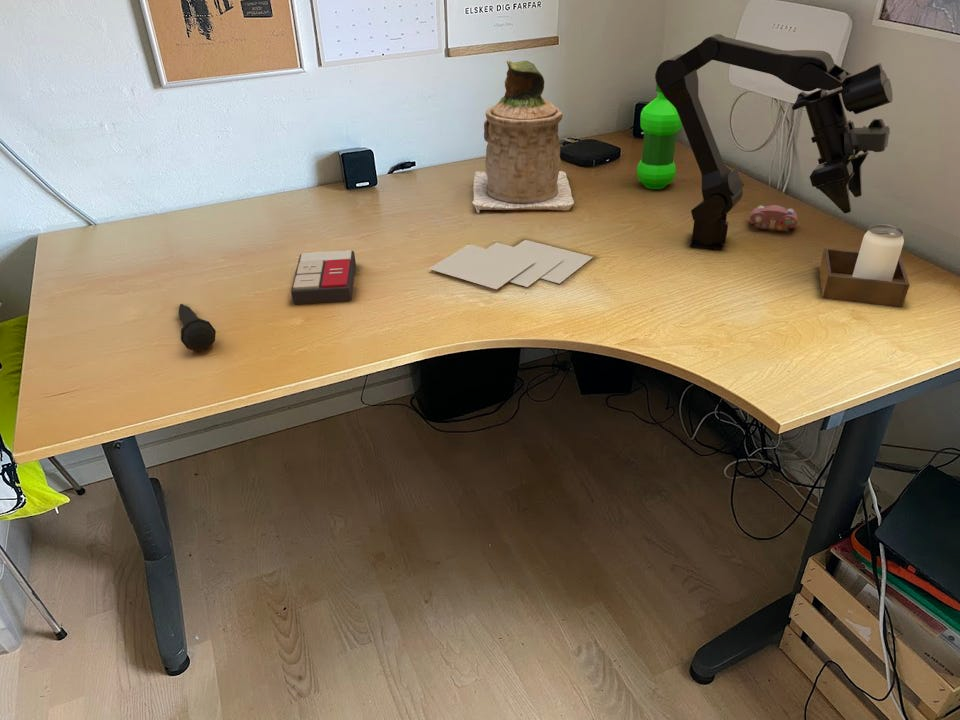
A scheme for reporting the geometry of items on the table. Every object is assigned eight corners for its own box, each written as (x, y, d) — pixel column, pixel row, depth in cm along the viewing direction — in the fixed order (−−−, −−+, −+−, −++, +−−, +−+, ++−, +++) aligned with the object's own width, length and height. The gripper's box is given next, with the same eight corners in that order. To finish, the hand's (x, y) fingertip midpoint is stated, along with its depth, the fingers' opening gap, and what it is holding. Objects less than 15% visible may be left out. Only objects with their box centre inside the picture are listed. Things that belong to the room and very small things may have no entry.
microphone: (177, 325, 137) (196, 362, 121) (159, 301, 134) (176, 336, 118) (202, 309, 138) (225, 344, 123) (185, 285, 135) (206, 318, 119)
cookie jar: (575, 211, 170) (582, 68, 152) (471, 214, 170) (466, 72, 153) (566, 176, 190) (571, 46, 173) (473, 178, 191) (469, 49, 173)
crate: (822, 297, 132) (828, 275, 130) (819, 268, 142) (824, 248, 139) (902, 307, 128) (909, 284, 126) (893, 277, 138) (900, 255, 135)
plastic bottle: (625, 186, 183) (634, 83, 169) (650, 175, 189) (660, 75, 175) (658, 196, 177) (670, 90, 163) (683, 184, 182) (696, 81, 169)
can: (891, 300, 131) (911, 238, 124) (853, 297, 132) (870, 236, 125) (882, 283, 136) (901, 224, 129) (845, 281, 137) (862, 222, 130)
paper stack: (493, 231, 161) (493, 228, 161) (593, 257, 149) (593, 254, 148) (428, 271, 146) (428, 268, 145) (533, 303, 133) (533, 300, 133)
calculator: (289, 288, 134) (299, 250, 146) (293, 307, 136) (303, 268, 149) (348, 284, 134) (353, 246, 146) (351, 303, 137) (356, 265, 149)
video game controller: (746, 233, 160) (750, 212, 154) (749, 218, 162) (753, 196, 156) (793, 239, 157) (799, 217, 151) (796, 223, 159) (802, 201, 153)
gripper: (867, 120, 117) (892, 208, 121) (888, 94, 130) (910, 175, 134) (797, 143, 125) (823, 226, 129) (823, 117, 138) (846, 193, 142)
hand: (853, 204), depth 133 cm, fingers open, 9 cm apart
